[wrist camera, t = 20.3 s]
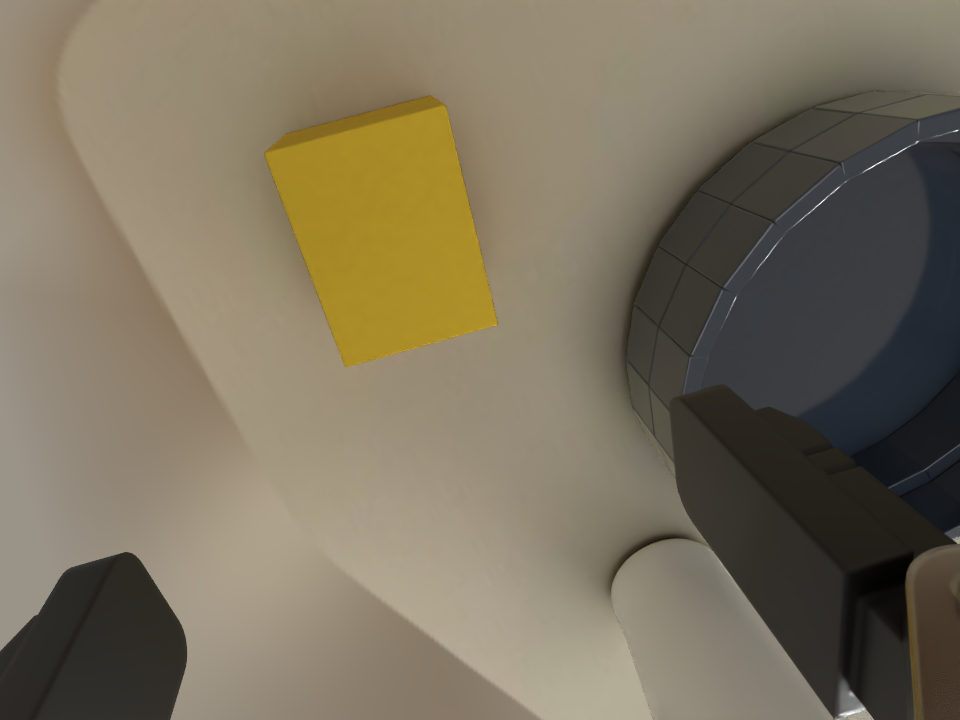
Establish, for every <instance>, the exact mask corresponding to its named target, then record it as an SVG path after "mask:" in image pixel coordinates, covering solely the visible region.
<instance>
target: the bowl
mask: <svg viewBox="0 0 960 720" xmlns="http://www.w3.org/2000/svg"><path fill="white" fill-rule="evenodd" d="M626 365H627V372H628V379H629V387H630V394H631V401H632V407H633V410H634V412H635V414H636V416H637V418H638V420H639V422H640V424H641V426H642V428H643V430H644V432H645V434H646V436H647V438H648V440H649V442H650V444H651V446H652V447H653V449H654V450H655V451H656V453H657V454H658V456H659V457H660V458H661V460H662V461H663V463H664V464H665V465H666V467H667V468H668V470H669V471H670V472H671V474H672V475H673V476H674V478H675V479H676V475H675V465H674V454H673V444H672V433H671V422H670V410H669V408H670V402H671V399H672V398H674V397H678V396H681V395H685V394H688V393H692V392H695V391H699V390H702V389H706V388H709V387H713V386H716V385H720V384H723V385H726V386H727V387H729V388H730V389H731V390H732V391H733V392H734V393H736V394H737V395H738V396H739V397H740V398H741V399H742V400H744V401H745V402H746V403H747V404H748V405H749V406H750V407H751V408H753V409H754V410H758V409H761V408H765V407H768V406H769V407H771V408H774V409H776V410H779V411H781V412H784V413H786V414H789V415H791V416H794V417H796V418H799V419H801V420H804V421H806V422H807V423H808V424H809V425H811V426H812V427H813V428H814V429H815V430H817V431H818V432H819V433H820V434H822V435H823V436H824V437H825V438H827V439H828V440H829V441H830V442H832V446H833V447H834V448H836V447H838V448H839V449H840V450H842V451H843V452H844V453H845V454H847V455H848V456H849V457H850V458H851V459H853V460H854V461H855V464H856V466H857V467H860V466H861V467H863V468H864V469H865V470H866V471H868V472H869V473H870V474H871V475H873V476H874V477H875V478H876V479H878V480H879V481H880V482H881V483H883V484H884V485H885V486H886V487H887V488H889V489H890V490H891V491H892V492H894V493H895V494H896V495H897V496H899V497H900V498H901V499H902V500H904V501H905V502H906V503H907V504H909V505H910V506H911V507H912V508H914V509H915V510H916V511H917V512H919V513H920V514H921V515H922V516H923V517H925V518H926V519H927V520H928V521H930V522H931V523H932V524H933V525H935V526H936V527H937V528H938V529H940V530H941V531H942V532H943V533H945V534H946V535H947V536H948V537H950V538H951V539H952V540H953V539H955V538H957V537H959V536H960V94H953V93H937V92H911V91H879V90H877V91H871V92H867V93H863V94H860V95H856V96H852V97H849V98H845V99H841V100H837V101H834V102H830V103H826V104H823V105H819V106H815V107H813V108H811V109H808V110H807V111H805V112H803V113H801V114H800V115H798V116H796V117H794V118H792V119H791V120H789V121H787V122H785V123H784V124H782V125H780V126H778V127H777V128H775V129H773V130H771V131H769V132H768V133H766V134H764V135H762V136H761V137H759V138H757V139H755V140H753V141H752V142H751V143H749V144H747V145H746V146H745V147H744V148H743V149H742V150H741V151H740V152H738V153H737V154H736V155H735V156H734V157H733V158H732V159H731V160H730V161H729V162H727V163H726V164H725V165H724V166H723V167H722V168H721V169H720V170H719V171H718V172H716V173H715V174H714V175H713V176H712V177H711V178H710V179H709V180H708V181H707V182H705V183H704V184H703V185H702V186H701V187H700V188H699V189H698V191H696V192H695V194H694V195H693V196H692V198H691V199H690V201H689V202H688V204H687V205H686V206H685V208H684V209H683V211H682V212H681V213H680V215H679V216H678V218H677V219H676V220H675V222H674V223H673V225H672V226H671V227H670V229H669V230H668V232H667V233H666V234H665V236H664V237H663V239H662V240H661V241H660V243H659V247H657V249H656V251H655V254H654V256H653V258H652V261H651V263H650V266H649V268H648V270H647V273H646V275H645V278H644V280H643V282H642V285H641V287H640V290H639V292H638V294H637V297H636V299H635V304H634V306H633V313H632V320H631V326H630V333H629V340H628V347H627V353H626Z"/></svg>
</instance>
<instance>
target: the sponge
mask: <svg viewBox="0 0 960 720" xmlns="http://www.w3.org/2000/svg"><path fill="white" fill-rule="evenodd" d="M264 156H265V158H266V161H267V164H268V166H269V169H270V171H271V174H272V177H273V179H274V182H275V184H276V187H277V190H278V192H279V195H280V198H281V200H282V203H283V205H284V208H285V211H286V213H287V216H288V219H289V221H290V224H291V226H292V229H293V232H294V234H295V237H296V240H297V242H298V245H299V247H300V250H301V253H302V255H303V258H304V261H305V263H306V266H307V268H308V271H309V274H310V276H311V279H312V281H313V284H314V287H315V289H316V292H317V295H318V297H319V300H320V302H321V305H322V308H323V310H324V313H325V316H326V318H327V321H328V323H329V326H330V329H331V331H332V334H333V337H334V339H335V342H336V344H337V347H338V350H339V352H340V355H341V358H342V360H343V363H344V365H345V367H349V366H353V365H356V364H360V363H364V362H367V361H371V360H374V359H378V358H381V357H385V356H389V355H392V354H396V353H399V352H403V351H406V350H410V349H414V348H417V347H421V346H424V345H428V344H431V343H435V342H439V341H442V340H446V339H449V338H453V337H456V336H460V335H464V334H467V333H471V332H474V331H478V330H481V329H485V328H489V327H492V326H496V325H498V321H497V317H496V313H495V309H494V304H493V300H492V296H491V292H490V288H489V284H488V279H487V275H486V271H485V267H484V263H483V259H482V255H481V250H480V246H479V242H478V238H477V234H476V230H475V225H474V221H473V217H472V213H471V209H470V205H469V200H468V196H467V192H466V188H465V184H464V180H463V175H462V171H461V167H460V163H459V159H458V155H457V150H456V146H455V142H454V138H453V134H452V130H451V125H450V121H449V117H448V113H447V109H446V106H445V104H443V103H441V102H440V101H438V100H437V99H435V98H434V97H432V96H427V97H423V98H420V99H416V100H412V101H408V102H405V103H401V104H397V105H393V106H389V107H386V108H382V109H378V110H374V111H371V112H367V113H363V114H359V115H356V116H352V117H348V118H344V119H341V120H337V121H333V122H329V123H326V124H322V125H318V126H314V127H311V128H307V129H303V130H299V131H296V132H292V133H288V134H285V135H284V136H283V137H282V138H281V139H280V140H279V141H277V142H276V143H275V144H274V145H273V146H272V147H270V148H269V149H268V150H267V151H266V152H265V153H264Z"/></svg>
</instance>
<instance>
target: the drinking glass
mask: <svg viewBox="0 0 960 720" xmlns="http://www.w3.org/2000/svg"><path fill="white" fill-rule="evenodd" d="M611 602H612V607H613V610H614V612H615V615H616V617H617V619H618V622H619V624H620V626H621V629H622V631H623V633H624V636H625V638H626V641H627V644H628V647H629V650H630V653H631V656H632V659H633V662H634V665H635V668H636V671H637V674H638V677H639V680H640V683H641V686H642V689H643V692H644V695H645V698H646V701H647V704H648V707H649V710H650V713H651V716H652V719H653V720H834V719H833V717H832V716H831V714H830V713H829V712H828V710H827V709H826V707H825V706H824V705H823V703H822V702H821V700H820V699H819V698H818V696H817V695H816V694H815V692H814V691H813V689H812V688H811V687H810V685H809V684H808V682H807V681H806V680H805V678H804V677H803V675H802V674H801V673H800V671H799V670H798V668H797V667H796V666H795V664H794V663H793V661H792V660H791V659H790V657H789V656H788V655H787V653H786V652H785V650H784V649H783V648H782V646H781V645H780V643H779V642H778V641H777V639H776V638H775V636H774V635H773V634H772V632H771V631H770V629H769V628H768V627H767V625H766V624H765V623H764V621H763V620H762V618H761V617H760V616H759V614H758V613H757V611H756V610H755V609H754V607H753V606H752V604H751V603H750V602H749V600H748V599H747V597H746V596H745V595H744V593H743V592H742V590H741V589H740V588H739V586H738V585H737V584H736V582H735V581H734V579H733V578H732V577H731V575H730V574H729V572H728V571H727V570H726V568H725V567H724V565H723V564H722V563H721V561H720V560H719V558H718V557H717V556H716V554H715V553H714V552H713V551H712V550H711V549H710V548H708V547H707V546H705V545H703V544H701V543H699V542H696V541H693V540H689V539H667V540H662V541H658V542H655V543H652V544H650V545H648V546H646V547H644V548H642V549H640V550H638V551H637V552H636V553H634V554H633V555H632V556H630V557H629V558H628V559H627V560H626V561H625V562H624V563H623V564H622V566H621V567H620V568H619V570H618V572H617V573H616V575H615V577H614V580H613V583H612V587H611ZM836 720H849V719H848V717H847V716H846V717H842V718H839V719H836Z"/></svg>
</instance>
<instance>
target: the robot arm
mask: <svg viewBox="0 0 960 720" xmlns="http://www.w3.org/2000/svg"><path fill="white" fill-rule="evenodd" d="M669 410H670V422H671V433H672V444H673V454H674V465H675V475H676V483H677V488H678V492H679V495H680V498H681V501H682V503H683V506H684V508H685V510H686V512H687V514H688V516H689V518H690V519H691V521H692V522H693V524H694V525H695V526H696V528H697V529H698V531H699V532H700V533H701V535H702V536H703V538H704V539H705V540H706V542H707V543H708V545H709V546H710V547H711V549H712V550H713V551H714V553H715V554H716V556H717V557H718V558H719V560H720V561H721V563H722V564H723V565H724V567H725V568H726V570H727V571H728V572H729V574H730V575H731V577H732V578H733V579H734V581H735V582H736V584H737V585H738V586H739V588H740V589H741V590H742V592H743V593H744V595H745V596H746V597H747V599H748V600H749V602H750V603H751V604H752V606H753V607H754V609H755V610H756V611H757V613H758V614H759V616H760V617H761V618H762V620H763V621H764V623H765V624H766V625H767V627H768V628H769V629H770V631H771V632H772V634H773V635H774V636H775V638H776V639H777V641H778V642H779V643H780V645H781V646H782V648H783V649H784V650H785V652H786V653H787V655H788V656H789V657H790V659H791V660H792V661H793V663H794V664H795V666H796V667H797V668H798V670H799V671H800V673H801V674H802V675H803V677H804V678H805V680H806V681H807V682H808V684H809V685H810V687H811V688H812V689H813V691H814V692H815V694H816V695H817V696H818V698H819V699H820V700H821V702H822V703H823V705H824V706H825V707H826V709H827V710H828V712H829V713H830V714H831V716H832V717H833V719H834V720H836V719H839V718H842V717H846V716H849V715H852V714H855V713H858V712H861V711H864V710H867V711H868V712H869V713H870V715H871V716H872V717H873V719H874V720H960V544H957V543H956V542H955V541H953V540H952V539H951V538H950V537H948V536H947V535H946V534H945V533H943V532H942V531H941V530H940V529H938V528H937V527H936V526H935V525H933V524H932V523H931V522H930V521H928V520H927V519H926V518H925V517H923V516H922V515H921V514H920V513H919V512H917V511H916V510H915V509H914V508H912V507H911V506H910V505H909V504H907V503H906V502H905V501H904V500H902V499H901V498H900V497H899V496H897V495H896V494H895V493H894V492H892V491H891V490H890V489H889V488H887V487H886V486H885V485H884V484H883V483H881V482H880V481H879V480H878V479H876V478H875V477H874V476H873V475H871V474H870V473H869V472H868V471H866V470H865V469H864V468H863V467H861V466H860V467H857V466H856V464H855V461H854V460H853V459H851V458H850V457H849V456H848V455H847V454H845V453H844V452H843V451H842V450H840V449H839V448H838V447H836V448H834V447H833V446H832V442H830V441H829V440H828V439H827V438H825V437H824V436H823V435H822V434H820V433H819V432H818V431H817V430H815V429H814V428H813V427H812V426H811V425H809V424H808V423H807V422H806V421H804V420H801V419H799V418H796V417H794V416H791V415H789V414H786V413H784V412H781V411H779V410H776V409H774V408H771V407H769V406H768V407H765V408H761V409H758V410H754V409H753V408H751V407H750V406H749V405H748V404H747V403H746V402H745V401H744V400H742V399H741V398H740V397H739V396H738V395H737V394H736V393H734V392H733V391H732V390H731V389H730V388H729V387H727V386H726V385H723V384H720V385H716V386H713V387H709V388H706V389H702V390H699V391H695V392H692V393H688V394H685V395H681V396H678V397H674V398H672V399H671V402H670V408H669ZM186 662H187V645H186V638H185V634H184V630H183V628H182V625H181V624H180V622H179V620H178V618H177V617H176V615H175V614H174V612H173V611H172V609H171V608H170V606H169V604H168V603H167V601H166V600H165V598H164V597H163V595H162V594H161V592H160V590H159V589H158V587H157V586H156V584H155V583H154V581H153V579H152V578H151V576H150V575H149V573H148V572H147V570H146V569H145V567H144V565H143V564H142V562H141V561H140V560H139V559H138V558H137V557H136V556H135V555H133V554H132V553H128V552H124V553H121V554H117V555H114V556H110V557H107V558H103V559H99V560H96V561H92V562H89V563H85V564H82V565H79V566H75V567H71V568H70V569H68V570H66V571H65V572H64V573H63V575H62V576H61V577H60V579H59V580H58V582H57V584H56V585H55V587H54V589H53V590H52V592H51V594H50V596H49V597H48V599H47V600H46V602H45V604H44V605H43V607H42V609H41V611H40V612H39V614H38V615H36V616H34V617H33V618H32V619H31V620H30V621H29V622H28V623H27V624H26V625H25V626H24V627H23V628H22V629H21V631H19V632H18V633H17V635H16V636H15V637H14V638H13V639H12V640H11V641H10V642H9V643H8V644H7V645H6V646H5V647H4V648H3V649H2V650H1V651H0V720H170V718H171V715H172V712H173V708H174V705H175V702H176V698H177V695H178V692H179V688H180V685H181V681H182V678H183V675H184V671H185V668H186Z"/></svg>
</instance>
